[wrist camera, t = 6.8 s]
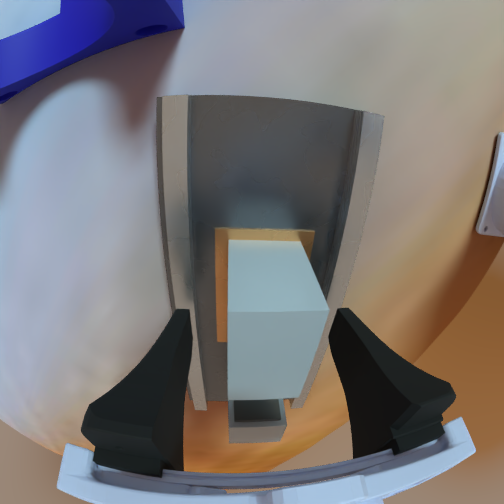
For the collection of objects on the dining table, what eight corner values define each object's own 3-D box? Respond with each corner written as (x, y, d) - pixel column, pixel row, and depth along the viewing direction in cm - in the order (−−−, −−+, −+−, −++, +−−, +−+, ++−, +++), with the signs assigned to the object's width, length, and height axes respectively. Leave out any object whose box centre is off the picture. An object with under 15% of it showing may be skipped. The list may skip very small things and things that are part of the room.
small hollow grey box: (277, 361, 19) (287, 423, 14) (272, 385, 20) (279, 441, 16) (227, 362, 18) (228, 425, 14) (227, 386, 20) (229, 443, 16)
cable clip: (180, -38, 7) (153, -97, 2) (185, 28, 10) (152, -17, 4) (2, 43, 7) (-63, 46, 2) (4, 103, 9) (-66, 122, 4)
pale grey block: (300, 241, 14) (329, 310, 9) (284, 331, 17) (297, 400, 13) (228, 239, 13) (227, 311, 9) (227, 331, 17) (228, 402, 12)
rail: (368, 113, 12) (393, 118, 10) (302, 384, 23) (307, 406, 21) (164, 97, 11) (150, 97, 9) (191, 385, 22) (189, 409, 20)
